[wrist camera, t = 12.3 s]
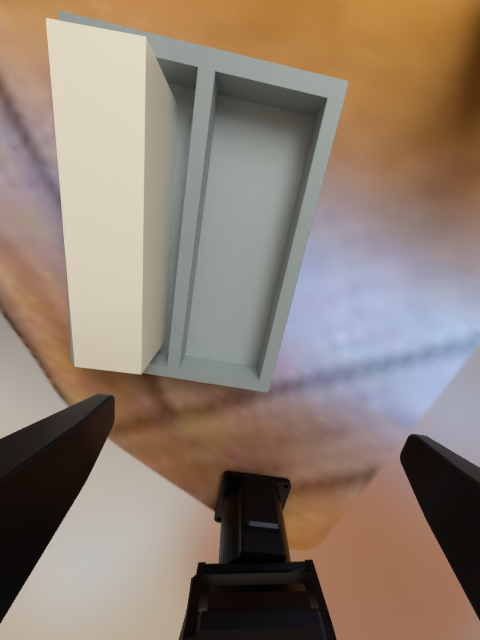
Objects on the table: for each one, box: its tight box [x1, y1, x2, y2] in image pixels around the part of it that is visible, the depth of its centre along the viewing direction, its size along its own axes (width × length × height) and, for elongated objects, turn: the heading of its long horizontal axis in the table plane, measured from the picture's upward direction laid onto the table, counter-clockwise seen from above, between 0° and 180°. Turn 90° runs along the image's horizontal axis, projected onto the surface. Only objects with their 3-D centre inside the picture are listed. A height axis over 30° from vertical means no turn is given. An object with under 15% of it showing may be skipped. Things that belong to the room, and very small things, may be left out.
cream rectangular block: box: [46, 18, 178, 374], centre depth 13 cm, size 14×4×5 cm, turn 172°
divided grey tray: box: [58, 10, 349, 393], centre depth 16 cm, size 18×13×3 cm
